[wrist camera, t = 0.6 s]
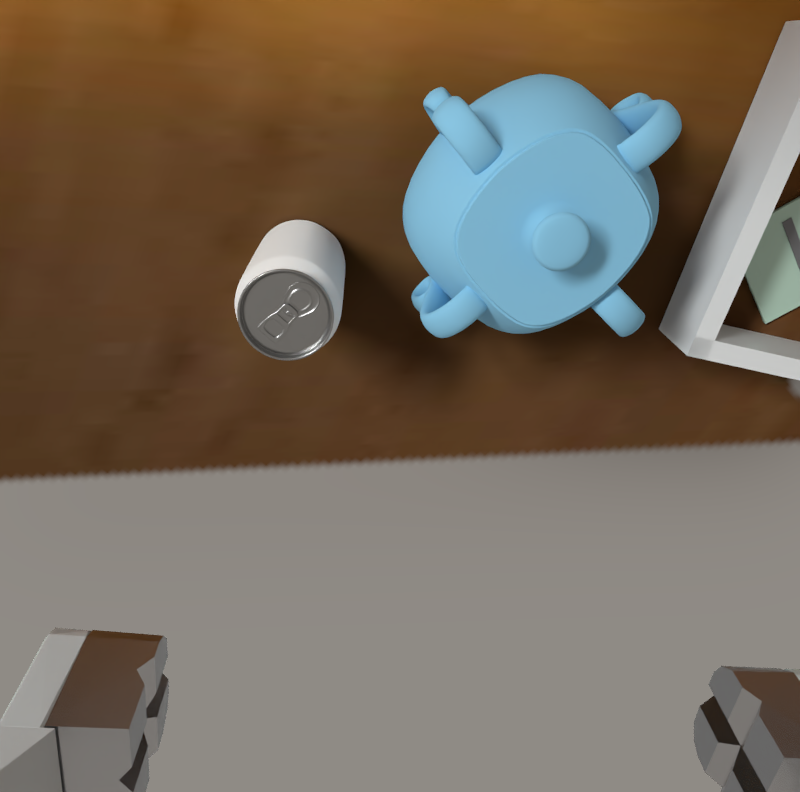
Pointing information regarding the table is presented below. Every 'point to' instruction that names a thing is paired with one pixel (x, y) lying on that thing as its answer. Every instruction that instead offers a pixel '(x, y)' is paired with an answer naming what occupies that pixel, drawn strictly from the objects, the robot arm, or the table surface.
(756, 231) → the white l-shaped bracket
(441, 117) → the decorative pot
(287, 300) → the can
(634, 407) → the table surface
